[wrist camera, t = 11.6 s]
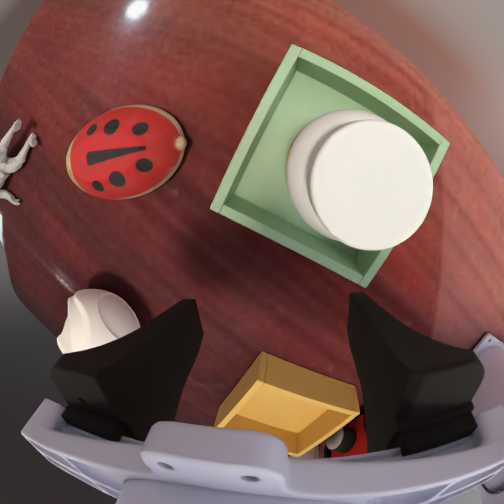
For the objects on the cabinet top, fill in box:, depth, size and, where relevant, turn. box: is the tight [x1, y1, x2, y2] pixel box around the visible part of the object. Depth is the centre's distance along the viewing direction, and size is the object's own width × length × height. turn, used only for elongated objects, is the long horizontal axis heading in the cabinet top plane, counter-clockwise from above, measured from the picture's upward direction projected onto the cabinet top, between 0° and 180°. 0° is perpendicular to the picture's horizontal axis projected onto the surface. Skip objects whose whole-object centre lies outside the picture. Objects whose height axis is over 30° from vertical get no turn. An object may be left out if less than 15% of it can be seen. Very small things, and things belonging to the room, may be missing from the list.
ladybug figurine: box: [66, 105, 187, 200], centre depth 16 cm, size 7×10×4 cm
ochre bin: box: [214, 351, 360, 457], centre depth 23 cm, size 10×10×4 cm
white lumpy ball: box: [57, 289, 140, 354], centre depth 20 cm, size 8×8×8 cm
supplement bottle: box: [286, 109, 433, 251], centre depth 12 cm, size 5×5×10 cm
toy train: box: [324, 415, 367, 458], centre depth 19 cm, size 9×20×15 cm, turn 64°
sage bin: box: [210, 44, 450, 288], centre depth 15 cm, size 10×10×4 cm
